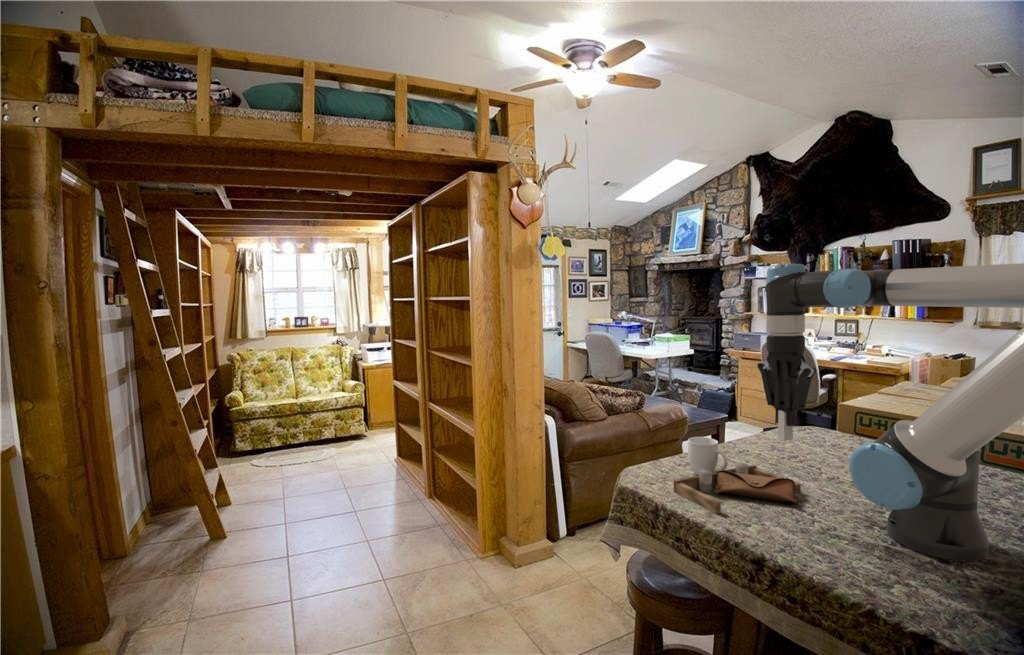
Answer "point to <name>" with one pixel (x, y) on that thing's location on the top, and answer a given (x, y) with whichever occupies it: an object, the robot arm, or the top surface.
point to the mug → (704, 454)
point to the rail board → (708, 479)
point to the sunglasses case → (756, 486)
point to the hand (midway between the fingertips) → (785, 439)
